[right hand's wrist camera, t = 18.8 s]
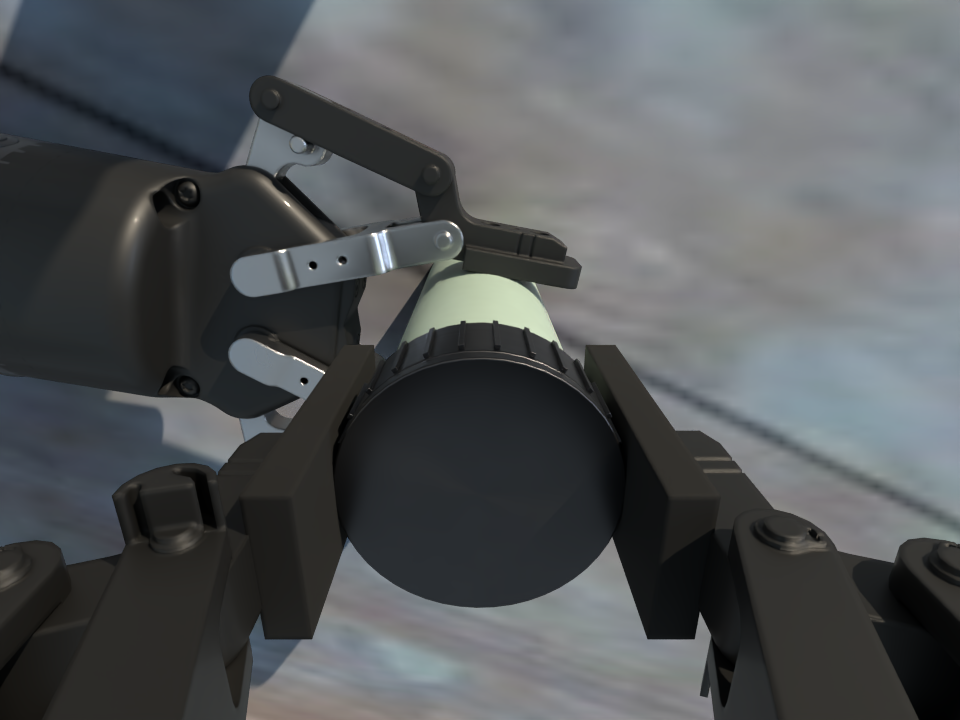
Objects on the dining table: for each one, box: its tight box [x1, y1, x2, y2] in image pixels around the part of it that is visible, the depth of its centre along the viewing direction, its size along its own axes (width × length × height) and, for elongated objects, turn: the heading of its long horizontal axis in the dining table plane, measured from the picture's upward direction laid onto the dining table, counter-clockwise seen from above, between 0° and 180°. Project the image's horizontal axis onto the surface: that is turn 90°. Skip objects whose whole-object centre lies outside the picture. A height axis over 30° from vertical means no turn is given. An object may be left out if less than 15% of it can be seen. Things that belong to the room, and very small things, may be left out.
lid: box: [333, 320, 626, 608], centre depth 11 cm, size 6×6×2 cm
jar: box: [397, 259, 563, 350], centre depth 18 cm, size 5×5×15 cm
